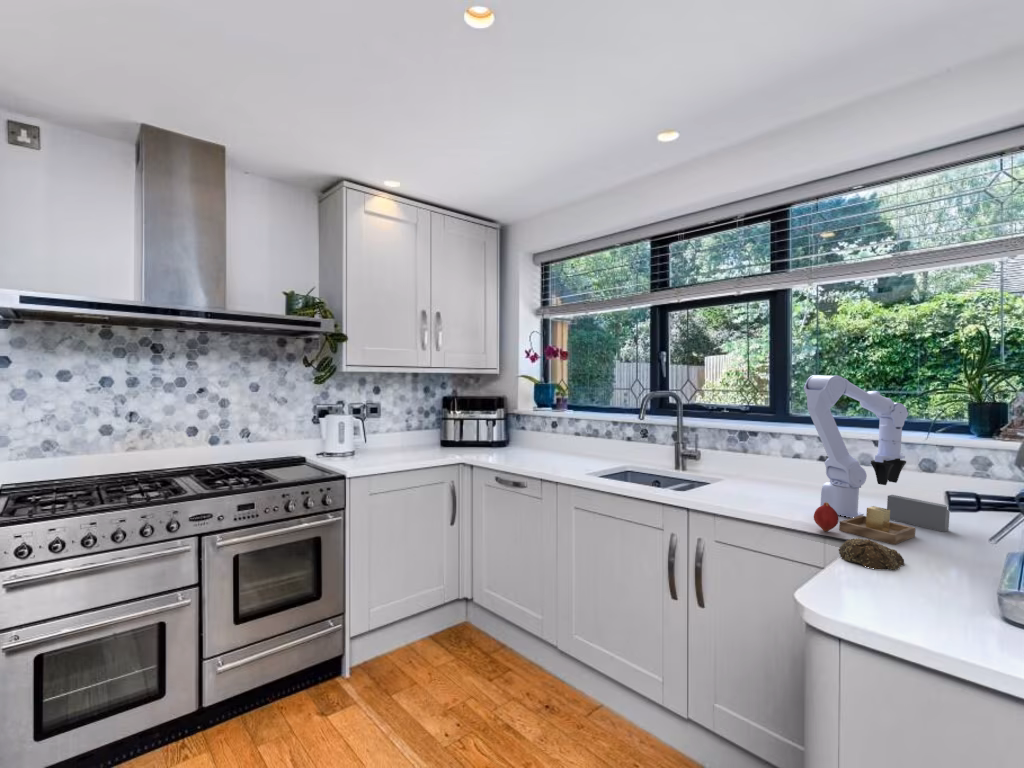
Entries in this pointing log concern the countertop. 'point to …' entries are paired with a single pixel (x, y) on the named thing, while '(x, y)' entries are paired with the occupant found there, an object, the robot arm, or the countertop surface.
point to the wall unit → (918, 512)
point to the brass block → (878, 518)
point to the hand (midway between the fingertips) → (887, 483)
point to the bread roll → (870, 554)
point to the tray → (893, 536)
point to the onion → (826, 517)
